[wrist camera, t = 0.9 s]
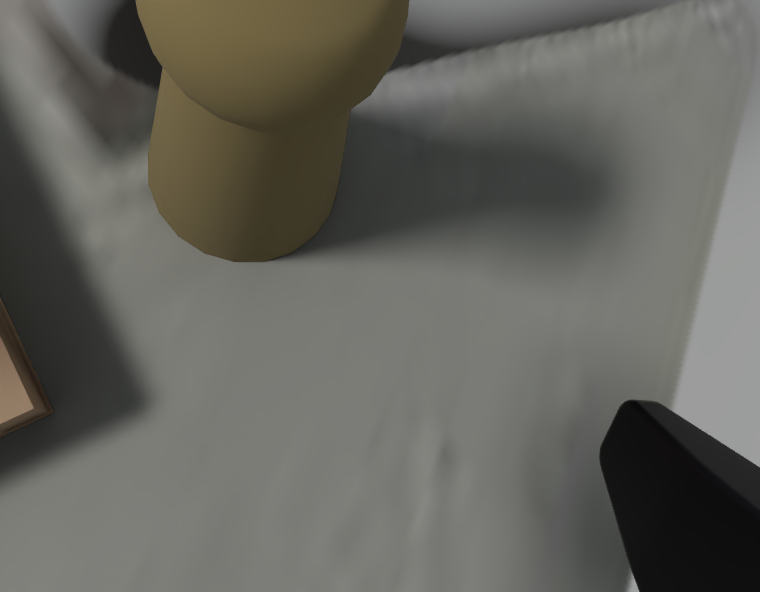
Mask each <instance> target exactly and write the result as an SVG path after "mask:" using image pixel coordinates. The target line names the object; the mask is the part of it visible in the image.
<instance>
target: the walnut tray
mask: <svg viewBox="0 0 760 592" xmlns="http://www.w3.org/2000/svg"><path fill="white" fill-rule="evenodd" d="M52 413H54V411H53V408H52V406H51V404H50V402H49V400H48V398H47V396H46V393H45V391H44V389H43V387H42V385H41V383H40V381H39V378H38V376H37V374H36V372H35V370H34V368H33V366H32V364H31V361H30V359H29V357H28V355H27V353H26V351H25V349H24V346H23V344H22V342H21V340H20V338H19V336H18V334H17V331H16V329H15V327H14V325H13V323H12V321H11V319H10V316H9V314H8V312H7V310H6V308H5V306H4V304H3V301H2V299H1V297H0V437H2V436H5V435H7V434H9V433H11V432H13V431H15V430H18V429H20V428H22V427H24V426H26V425H28V424H30V423H33V422H35V421H37V420H39V419H41V418H43V417H46V416H48V415H50V414H52Z"/></svg>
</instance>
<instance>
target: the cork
mask: <svg viewBox="0 0 760 592" xmlns="http://www.w3.org/2000/svg"><path fill="white" fill-rule="evenodd" d="M136 4H137V10H138V15H139V18H140V20H141V23H142V26H143V28H144V31H145V33H146V36H147V38H148V41H149V44H150V46H151V49H152V51H153V53H154V55H155V56H156V58H157V59H158V61H159V62H160V64H161V65H162V67H163V69H162V75H161V81H160V87H159V93H158V99H157V105H156V111H155V117H154V123H153V129H152V135H151V141H150V147H149V153H148V182H149V187H150V190H151V192H152V195H153V198H154V200H155V203H156V206H157V208H158V211H159V213H160V214H161V215H162V217H163V218H164V219H165V220H166V221H167V223H168V224H169V225H170V226H171V228H172V229H173V230H174V231H175V233H176V234H177V235H178V236H179V237H181V238H182V239H184V240H185V241H187V242H188V243H190V244H191V245H193V246H194V247H196V248H197V249H199V250H200V251H202V252H204V253H205V254H209V255H212V256H216V257H219V258H223V259H226V260H230V261H233V262H260V261H268V260H271V259H274V258H277V257H280V256H283V255H286V254H289V253H292V252H294V251H295V250H297V249H298V248H299V247H301V246H302V245H303V244H305V243H306V242H307V241H309V240H310V239H311V238H313V237H314V236H315V235H316V234H317V233H318V231H319V230H320V228H321V227H322V225H323V224H324V222H325V221H326V219H327V218H328V216H329V215H330V213H331V211H332V207H333V204H334V200H335V196H336V192H337V189H338V184H339V178H340V172H341V166H342V160H343V154H344V148H345V142H346V136H347V131H348V125H349V119H350V113H351V109H352V108H353V107H354V106H356V105H357V104H359V103H360V102H362V101H363V100H364V99H366V98H367V97H368V96H370V95H371V94H372V92H373V91H374V89H375V88H376V86H377V85H378V84H379V82H380V81H381V79H382V78H383V76H384V75H385V74H386V72H387V71H388V69H389V68H390V66H391V64H392V63H393V61H394V59H395V57H396V55H397V54H398V52H399V48H400V45H401V41H402V37H403V33H404V29H405V25H406V21H407V17H408V6H409V0H136Z"/></svg>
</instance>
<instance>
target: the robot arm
mask: <svg viewBox="0 0 760 592" xmlns="http://www.w3.org/2000/svg"><path fill="white" fill-rule="evenodd" d="M599 458H600V465H601V469H602V473H603V476H604V479H605V483H606V486H607V490H608V493H609V496H610V500H611V503H612V507H613V510H614V514H615V517H616V520H617V524H618V527H619V531H620V534H621V538H622V541H623V544H624V548H625V551H626V555H627V558H628V561H629V564H630V567H631V570H632V573H633V576H634V578H635V581H636V584H637V586H638V589H639V592H760V467H758V466H757V465H755V464H754V463H752V462H750V461H749V460H747V459H746V458H744V457H743V456H741V455H740V454H738V453H736V452H735V451H733V450H732V449H730V448H729V447H727V446H725V445H724V444H722V443H721V442H719V441H718V440H716V439H715V438H713V437H712V436H710V435H708V434H707V433H705V432H704V431H702V430H701V429H699V428H697V427H696V426H694V425H693V424H691V423H690V422H688V421H686V420H685V419H683V418H682V417H680V416H679V415H677V414H676V413H674V412H673V411H671V410H669V409H668V408H666V407H665V406H663V405H662V404H660V403H658V402H655V401H645V400H628V401H625V402H624V403H623V404H622V405H621V406H620V407H619V409H618V411H617V413H616V415H615V417H614V419H613V421H612V424H611V426H610V428H609V430H608V432H607V434H606V436H605V438H604V440H603V442H602V445H601V448H600V456H599Z"/></svg>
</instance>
